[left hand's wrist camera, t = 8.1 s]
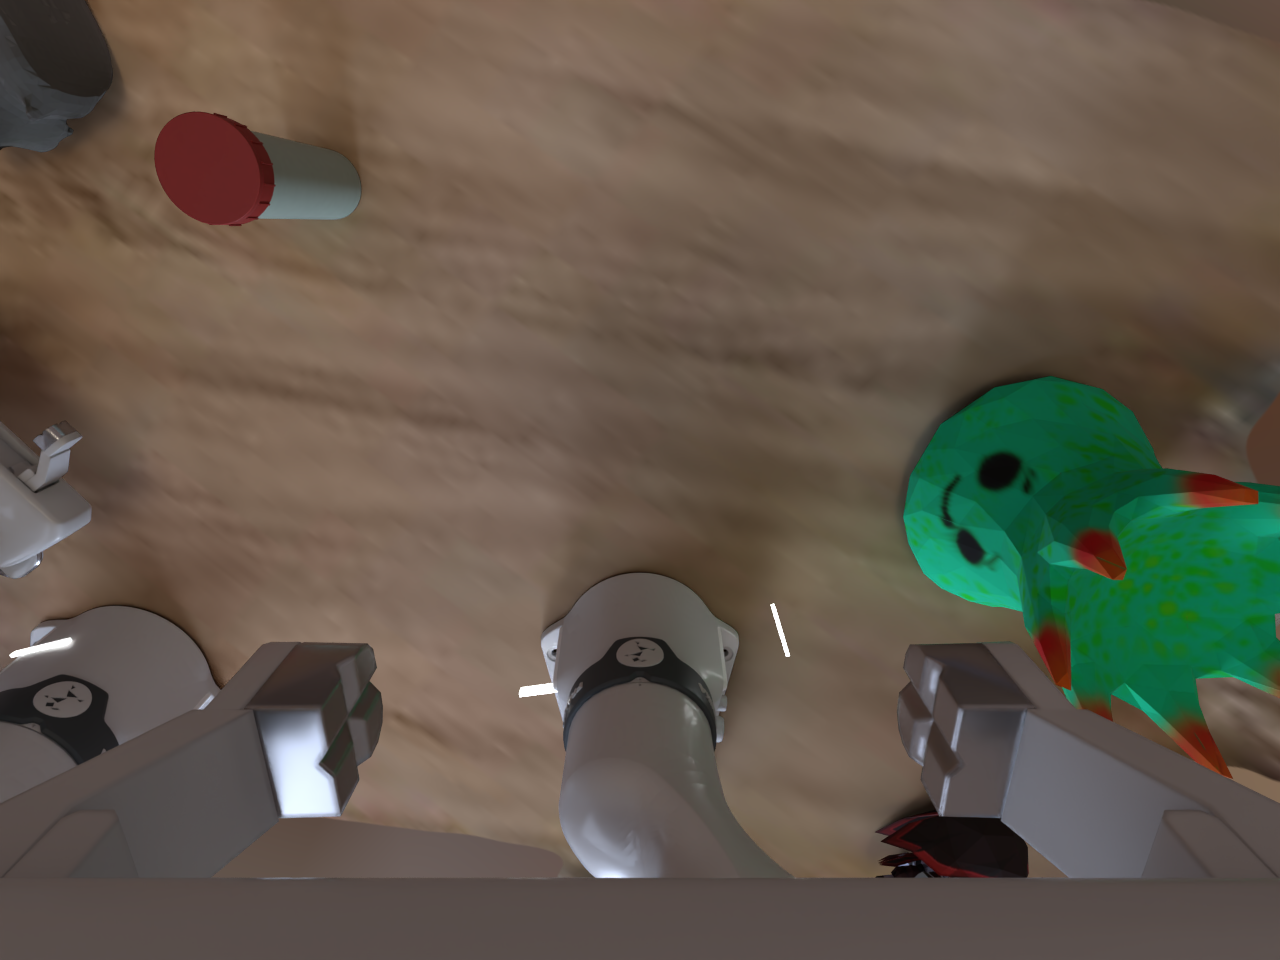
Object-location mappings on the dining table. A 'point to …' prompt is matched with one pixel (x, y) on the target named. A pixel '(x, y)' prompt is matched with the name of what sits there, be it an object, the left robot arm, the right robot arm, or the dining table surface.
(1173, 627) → the toy
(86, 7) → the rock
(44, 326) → the dining table surface
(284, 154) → the jar
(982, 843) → the toy
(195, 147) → the lid
